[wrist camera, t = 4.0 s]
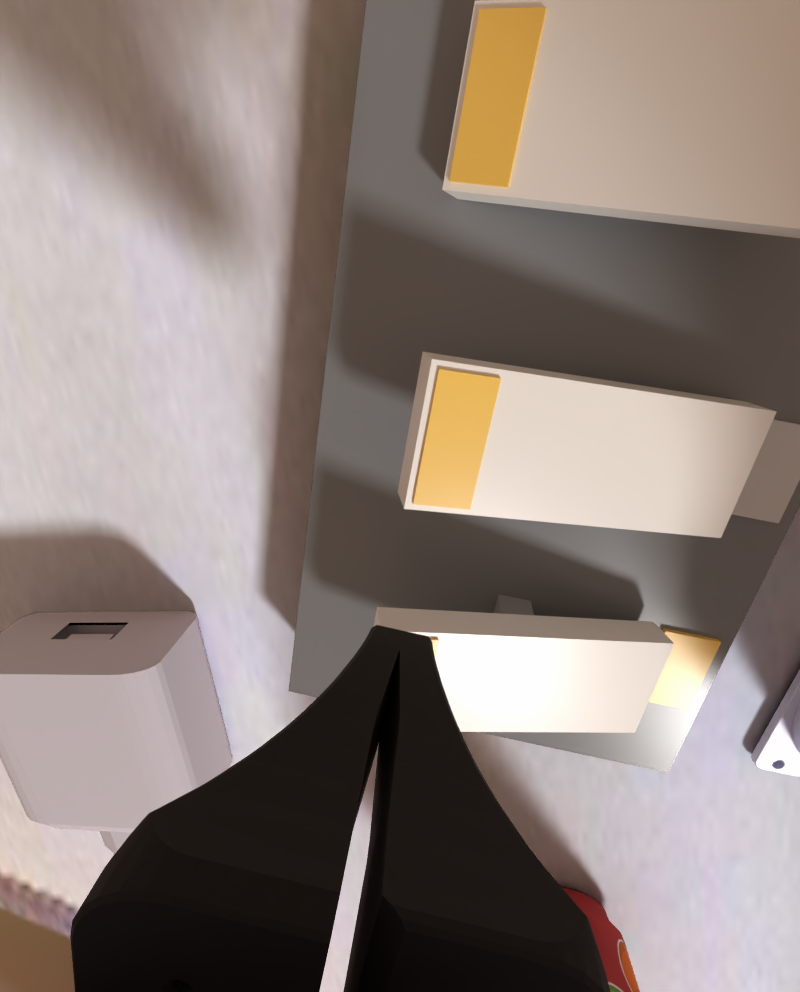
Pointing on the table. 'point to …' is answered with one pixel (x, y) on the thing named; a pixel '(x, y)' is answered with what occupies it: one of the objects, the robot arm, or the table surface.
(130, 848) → the robot arm
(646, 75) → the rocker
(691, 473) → the block
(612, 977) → the smoothie
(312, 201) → the table surface
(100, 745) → the charger
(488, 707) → the block
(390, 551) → the switch panel
